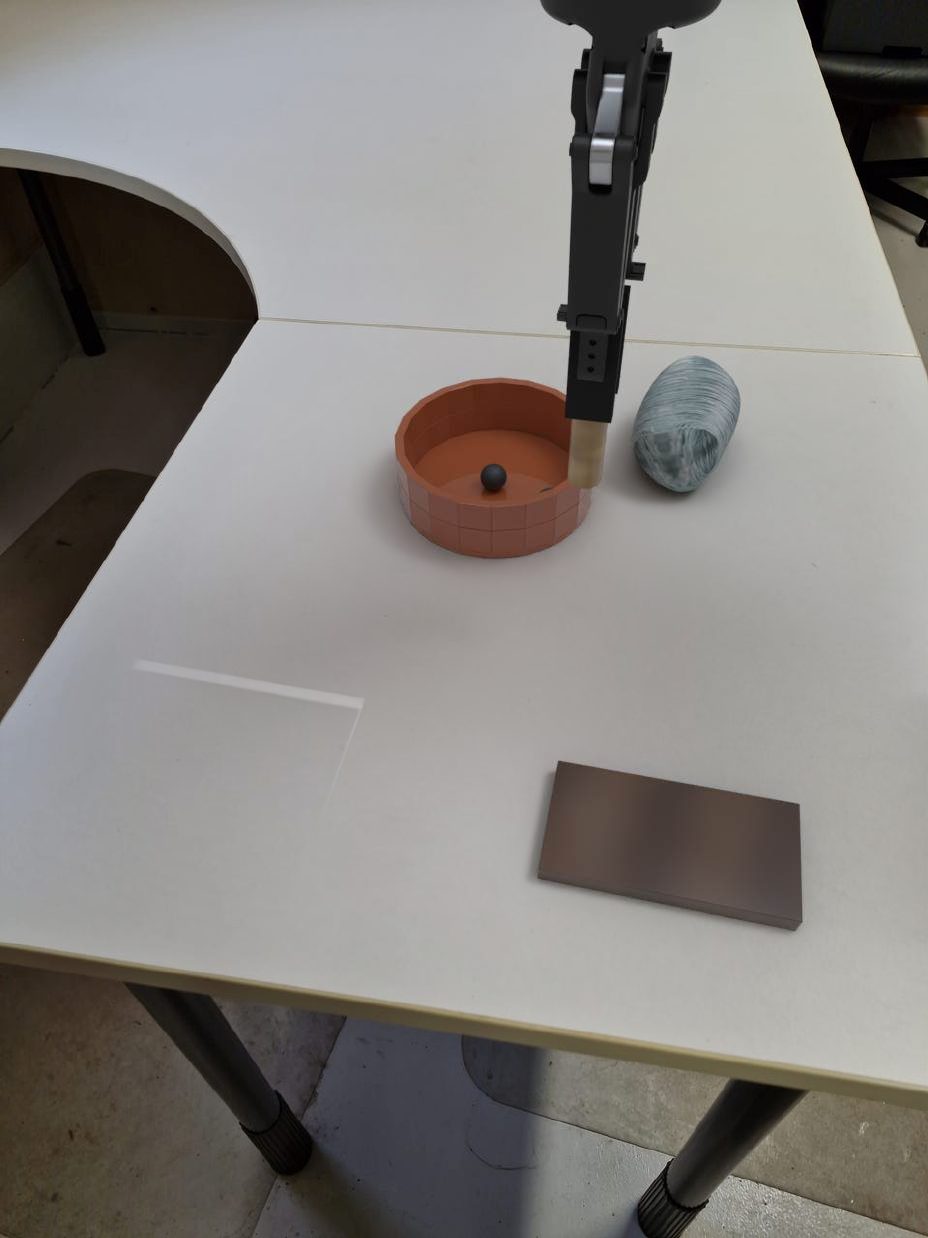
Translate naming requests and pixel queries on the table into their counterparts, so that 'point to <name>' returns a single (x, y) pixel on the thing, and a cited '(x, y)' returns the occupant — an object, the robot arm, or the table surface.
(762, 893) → the brown board
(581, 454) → the stick
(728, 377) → the blue yarn skein
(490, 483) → the bead
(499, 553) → the bowl
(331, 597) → the table surface
